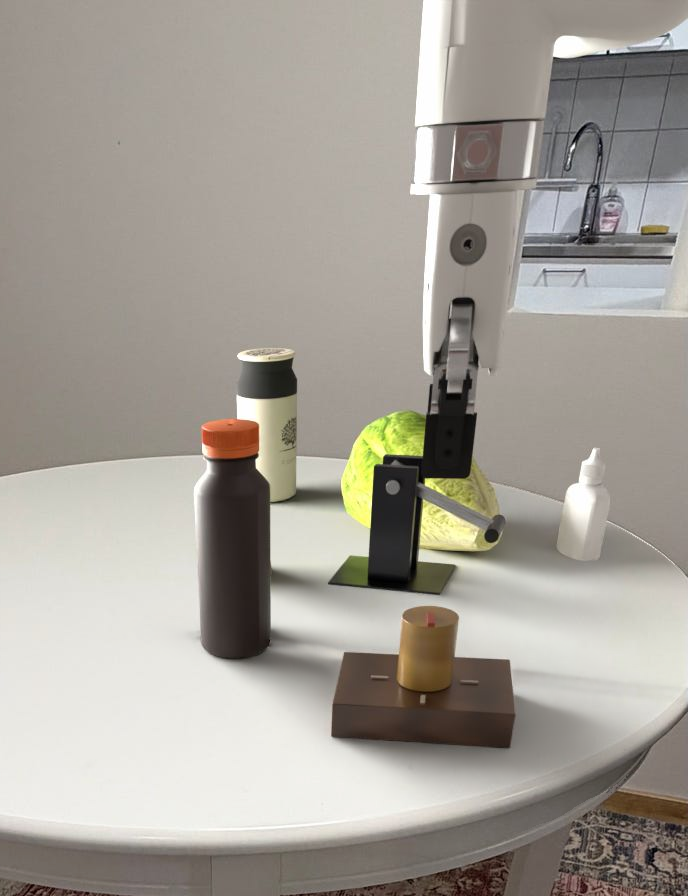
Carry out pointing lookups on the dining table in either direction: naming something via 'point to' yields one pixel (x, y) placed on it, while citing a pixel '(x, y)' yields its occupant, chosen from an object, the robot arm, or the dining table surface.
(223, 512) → the vinegar
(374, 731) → the knob panel
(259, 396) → the travel mug
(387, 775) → the dining table surface
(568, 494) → the eye dropper bottle
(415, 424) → the lettuce
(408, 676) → the tap knob
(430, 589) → the black lever stand
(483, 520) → the faucet lever
